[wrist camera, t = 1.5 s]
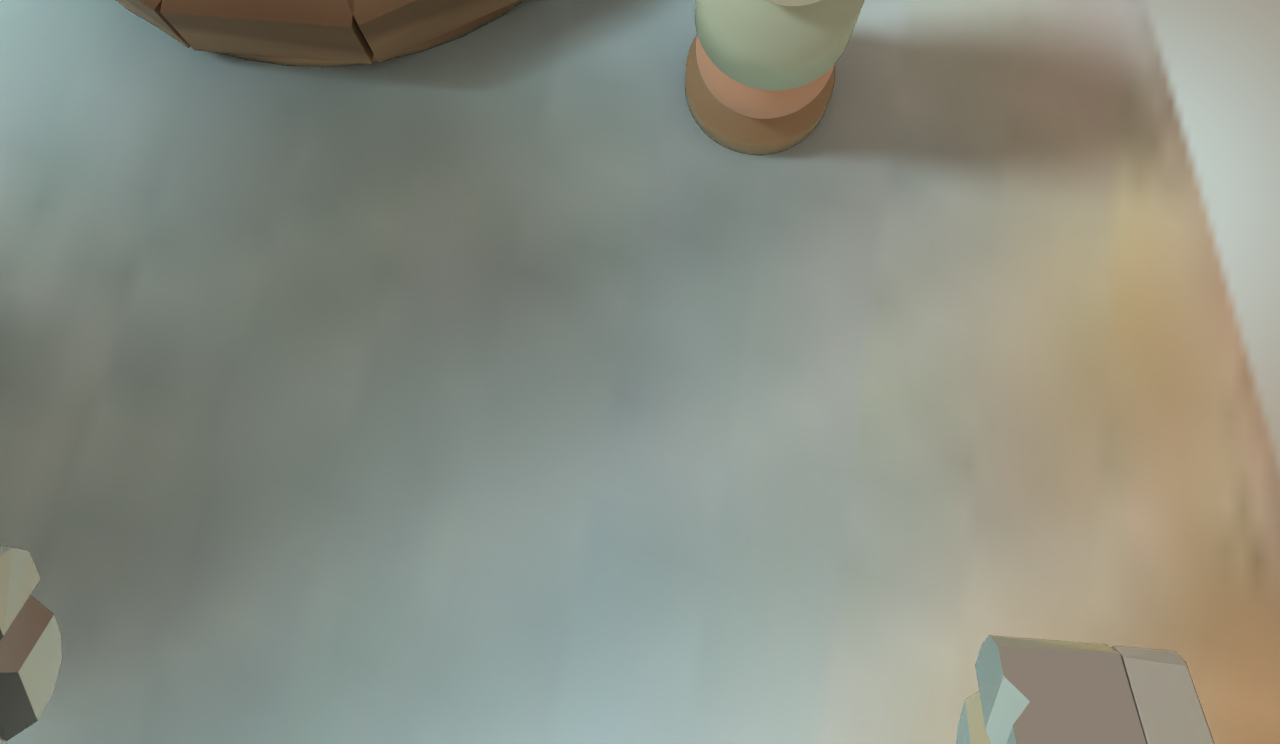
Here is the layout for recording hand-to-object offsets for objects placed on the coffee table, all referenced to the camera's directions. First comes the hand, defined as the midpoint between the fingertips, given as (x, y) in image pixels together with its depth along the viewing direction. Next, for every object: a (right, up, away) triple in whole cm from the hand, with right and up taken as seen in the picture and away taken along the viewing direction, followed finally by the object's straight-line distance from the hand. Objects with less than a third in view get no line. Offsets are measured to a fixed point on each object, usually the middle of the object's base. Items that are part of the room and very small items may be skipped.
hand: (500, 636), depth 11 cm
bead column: (+4, +10, +23) cm, 26 cm away
